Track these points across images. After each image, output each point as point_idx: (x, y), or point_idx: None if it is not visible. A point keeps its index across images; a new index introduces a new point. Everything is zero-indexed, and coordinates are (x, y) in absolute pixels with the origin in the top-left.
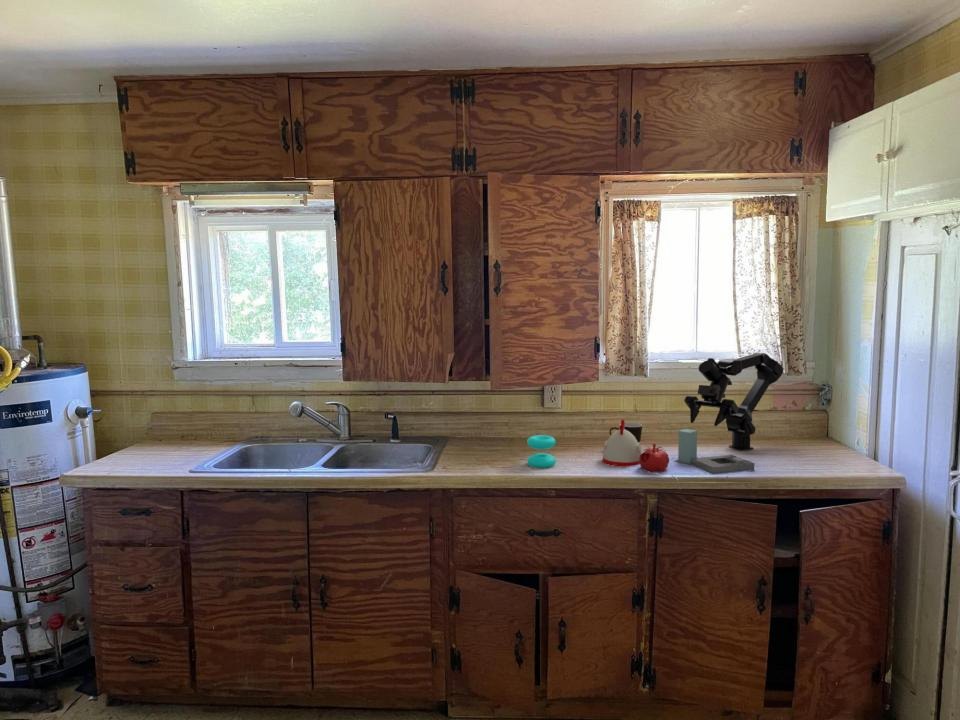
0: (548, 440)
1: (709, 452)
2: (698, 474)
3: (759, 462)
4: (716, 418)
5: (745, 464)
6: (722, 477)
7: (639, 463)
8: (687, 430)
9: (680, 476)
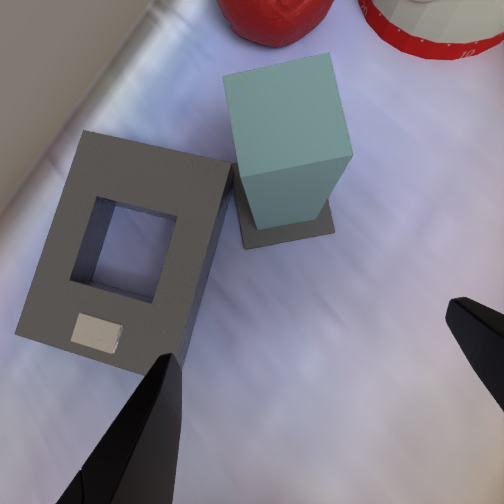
0: None
1: (359, 442)
2: (137, 105)
3: None
4: (137, 421)
5: (32, 287)
6: (62, 148)
7: (363, 4)
8: (297, 121)
9: (158, 35)
